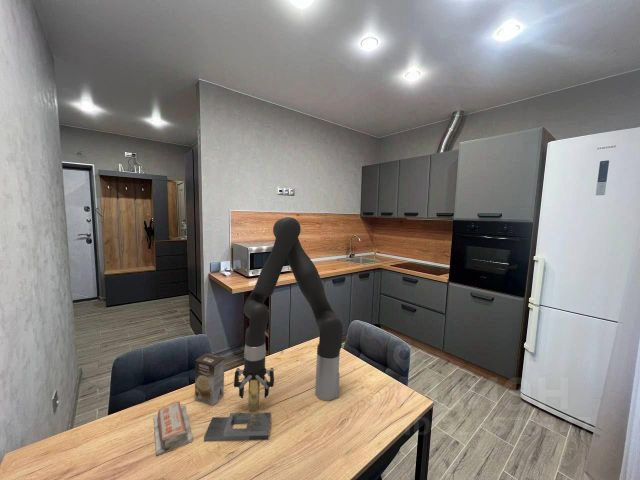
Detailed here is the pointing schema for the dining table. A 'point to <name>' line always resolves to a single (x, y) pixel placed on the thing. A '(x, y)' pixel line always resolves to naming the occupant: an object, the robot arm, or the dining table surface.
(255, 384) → the pin
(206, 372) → the coffee box
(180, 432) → the packaged product
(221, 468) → the dining table surface
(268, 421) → the grey socket base
